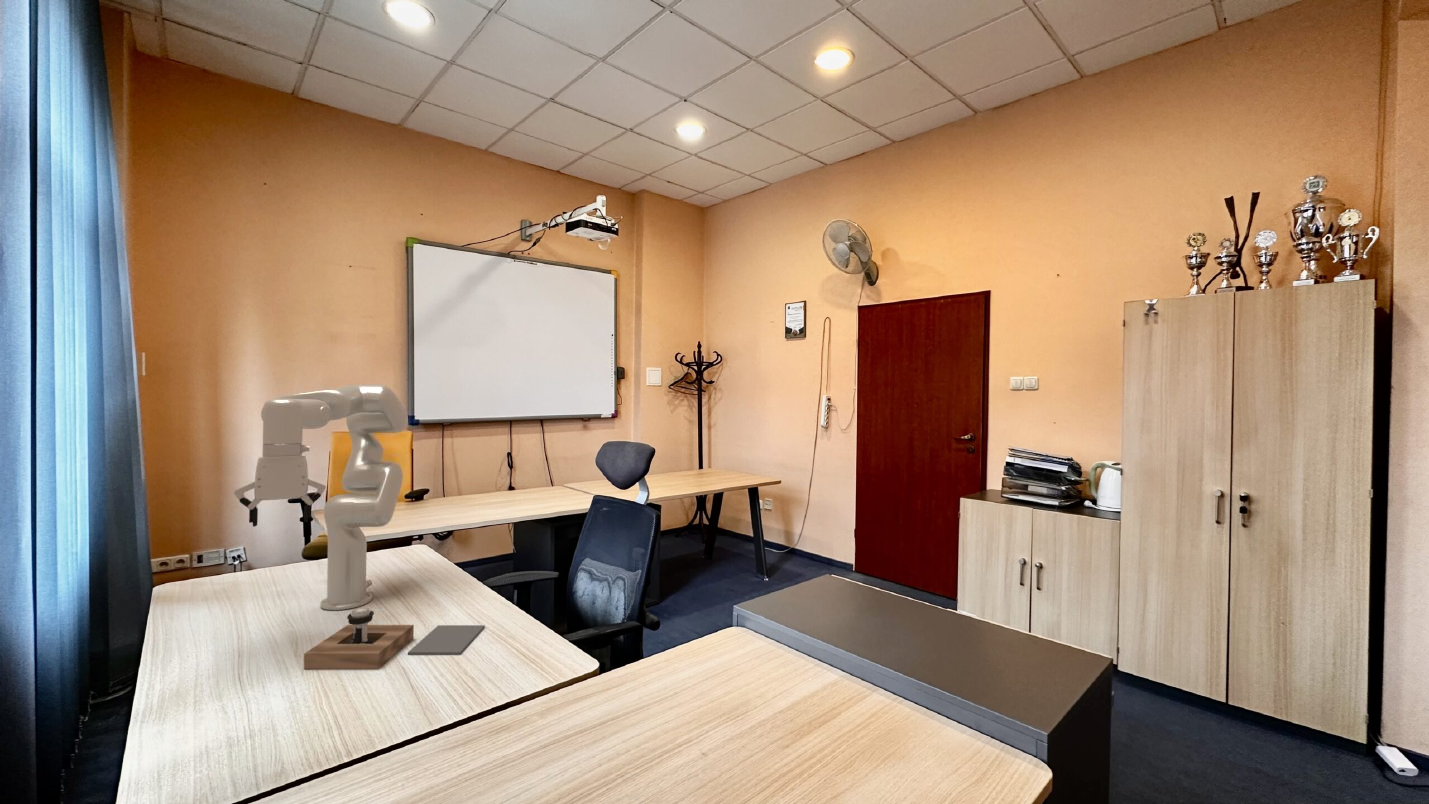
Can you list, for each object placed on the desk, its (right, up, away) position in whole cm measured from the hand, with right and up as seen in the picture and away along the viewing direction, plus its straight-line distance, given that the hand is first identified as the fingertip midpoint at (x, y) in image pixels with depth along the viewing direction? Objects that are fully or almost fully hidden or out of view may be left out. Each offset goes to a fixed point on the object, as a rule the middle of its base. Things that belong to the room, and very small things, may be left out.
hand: (280, 523), depth 136 cm
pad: (+37, -30, +6) cm, 48 cm away
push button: (+20, -30, -2) cm, 37 cm away
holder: (+20, -30, -2) cm, 36 cm away
